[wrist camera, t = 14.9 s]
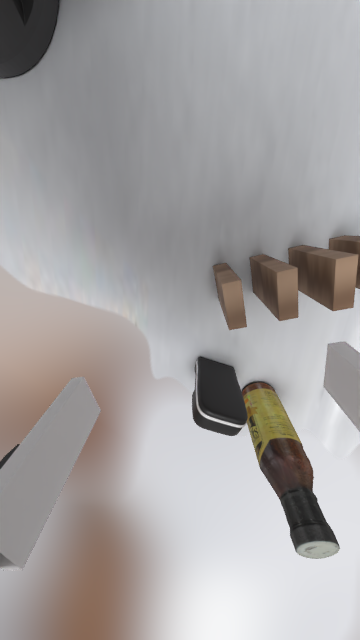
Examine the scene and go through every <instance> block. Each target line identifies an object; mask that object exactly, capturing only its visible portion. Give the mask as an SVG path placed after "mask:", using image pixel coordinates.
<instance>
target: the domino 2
mask: <svg viewBox="0 0 360 640" xmlns="http://www.w3.org/2000/svg"><path fill="white" fill-rule="evenodd" d="M250 266H251V276H252V285H253V293H254V294H255V295H256V296H257V297H258V298H259V299H260V300H261V301H262V302H263V304H264V305H265V306H266V307H267V308H268V309H269V310H270V311H271V312H272V313H273V315H274V316H275V317H276V318H277V319H278V320H279V321H282V320H287V319H293V318H298V268H297V267H294V266H292V265H289V264H287V263H284V262H282V261H279V260H277V259H274V258H272V257H269V256H267V255H264V254H262V255H258V256H253V257H250Z"/></svg>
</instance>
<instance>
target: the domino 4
mask: <svg viewBox="0 0 360 640" xmlns="http://www.w3.org/2000/svg"><path fill="white" fill-rule="evenodd" d="M329 250H335V251H340V252H346V253H352V254H358V265H357V275H356V285H355V287H356V288H358V289H360V236H345V235H344V236H340V237H336V238H331V239H329Z"/></svg>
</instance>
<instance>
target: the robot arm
mask: <svg viewBox="0 0 360 640" xmlns="http://www.w3.org/2000/svg"><path fill="white" fill-rule="evenodd" d="M58 3H59V0H0V78H7V77H13V76H17V75H20V74H22V73H24V72H26V71H27V70H29V69H30V68H31V67H33V66H34V65H35V64H36V63H37V62H38V60H39V59H40V58H41V56H42V55H43V53H44V52H45V50H46V48H47V46H48V44H49V42H50V40H51V37H52V34H53V31H54V27H55V23H56V18H57V12H58ZM324 388H325V389H326V390H327V391H328V393H329V394H330V395H331V396H332V398H333V399H334V400H335V401H336V403H337V404H338V405H339V406H340V408H341V409H342V410H343V411H344V413H345V414H346V415H347V416H348V418H349V419H350V420H351V421H352V423H353V424H354V425H355V426H356V428H357V429H358V430H359V431H360V353H359V352H358V351H356V350H355V349H354V348H353V347H351V346H350V345H349V344H347V343H346V342H337V343H330V344H328V348H327V358H326V367H325V377H324ZM100 412H101V410H100V408H99V406H98V404H97V402H96V400H95V398H94V396H93V394H92V392H91V390H90V388H89V386H88V384H87V382H86V380H85V378H84V377H77V378H72V379H71V380H70V381H69V383H68V384H67V385H66V387H65V388H64V389H63V390H62V391H61V393H60V394H59V395H58V397H57V398H56V399H55V400H54V402H53V403H52V404H51V405H50V407H49V408H48V409H47V411H46V412H45V413H44V414H43V416H42V417H41V418H40V420H39V421H38V422H37V423H36V425H35V426H34V427H33V428H32V430H31V431H30V432H29V434H28V435H27V436H26V437H25V439H24V440H23V441H22V442H21V444H18V445H17V446H16V447H14V448H13V449H12V450H11V451H10V452H9V453H8V454H7V455H6V456H5V457H4V458H3V459H2V460H1V461H0V568H1V569H2V570H23V568H24V566H25V564H26V562H27V560H28V558H29V556H30V554H31V551H32V550H33V548H34V546H35V543H36V541H37V539H38V537H39V535H40V533H41V531H42V529H43V527H44V525H45V523H46V521H47V519H48V517H49V515H50V513H51V511H52V508H53V507H54V505H55V503H56V501H57V498H58V497H59V495H60V493H61V491H62V489H63V487H64V485H65V483H66V480H67V479H68V477H69V474H70V472H71V470H72V468H73V466H74V464H75V462H76V460H77V458H78V456H79V454H80V452H81V450H82V448H83V446H84V444H85V442H86V440H87V438H88V436H89V434H90V432H91V430H92V428H93V426H94V424H95V422H96V420H97V418H98V415H99V413H100Z"/></svg>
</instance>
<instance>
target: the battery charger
mask: <svg viewBox="0 0 360 640" xmlns="http://www.w3.org/2000/svg"><path fill="white" fill-rule="evenodd" d="M195 373H196V379H195V390H194V392H193V395H192V410H193V419H194V421H195V423H196V424H197V425H198V426H200V427H202V428H204V429H207V430H211V431H214V432H217V433H221V434H225V435H229V436H235V435H237V434H238V433H239V432H240V430H241V429H242V427H244V426H245V425H246V423H247V419H248V414H247V409H246V406H245V402H244V398H243V395H242V392H241V389H240V386H239V384H238V381H237V378H236V374H235V370H234V368H232V367H229V366H226V365H223V364H220V363H217V362H214V361H211V360H207V359H204V358H198V360H197V361H196V365H195Z"/></svg>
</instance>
